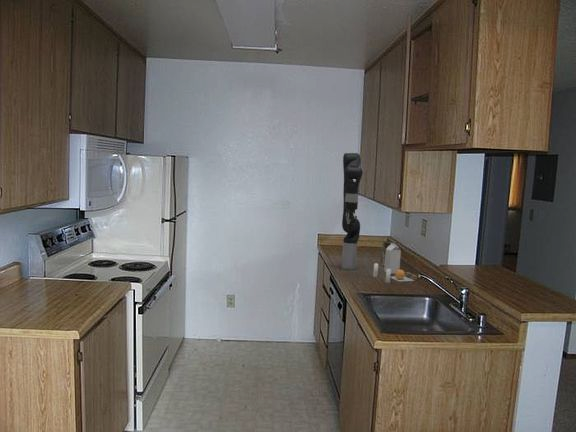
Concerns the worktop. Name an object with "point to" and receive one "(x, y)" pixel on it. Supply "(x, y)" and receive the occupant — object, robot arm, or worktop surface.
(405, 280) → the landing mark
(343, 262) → the robot arm
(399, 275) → the ball
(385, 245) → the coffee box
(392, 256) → the milk carton
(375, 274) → the left post
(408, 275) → the backstop strip
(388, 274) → the right post
